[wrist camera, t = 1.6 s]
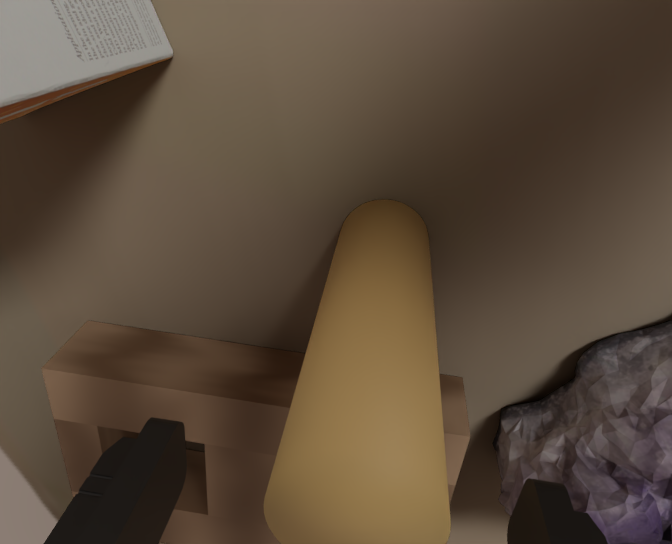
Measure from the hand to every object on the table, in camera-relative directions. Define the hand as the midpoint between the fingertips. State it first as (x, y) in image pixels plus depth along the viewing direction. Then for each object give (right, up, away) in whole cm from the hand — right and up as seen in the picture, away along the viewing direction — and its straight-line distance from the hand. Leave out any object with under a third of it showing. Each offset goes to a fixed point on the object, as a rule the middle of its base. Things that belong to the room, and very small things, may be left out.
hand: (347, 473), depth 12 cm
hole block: (-4, -4, +18) cm, 19 cm away
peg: (+2, +6, +11) cm, 13 cm away
